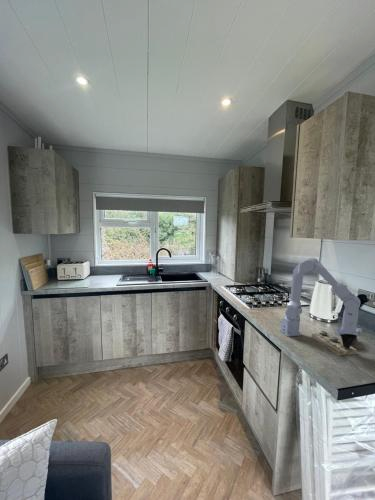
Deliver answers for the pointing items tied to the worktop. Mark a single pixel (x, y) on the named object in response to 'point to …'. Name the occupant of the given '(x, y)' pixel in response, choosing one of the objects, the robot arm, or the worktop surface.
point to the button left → (323, 333)
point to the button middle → (334, 339)
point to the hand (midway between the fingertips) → (346, 347)
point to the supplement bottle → (354, 342)
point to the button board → (332, 344)
